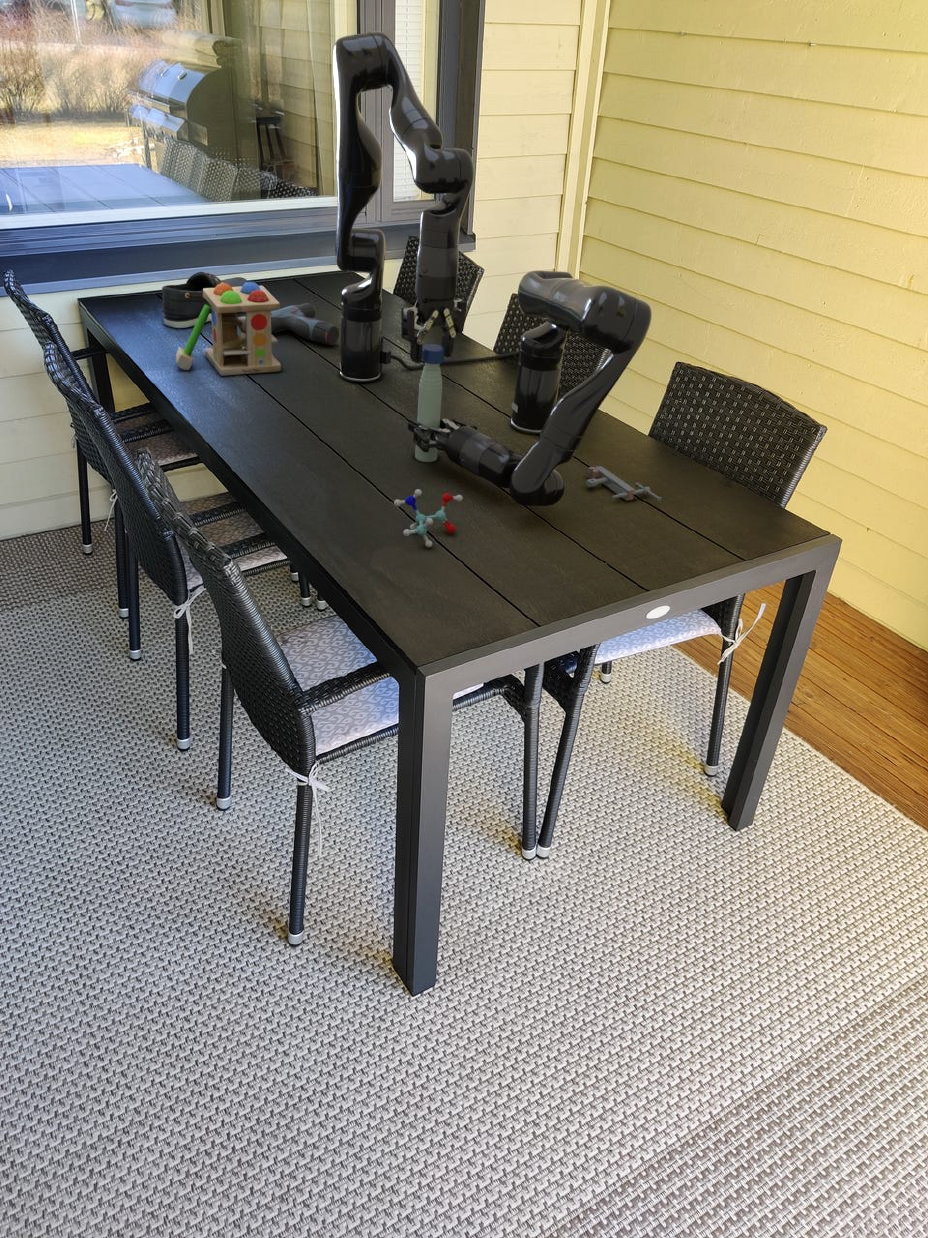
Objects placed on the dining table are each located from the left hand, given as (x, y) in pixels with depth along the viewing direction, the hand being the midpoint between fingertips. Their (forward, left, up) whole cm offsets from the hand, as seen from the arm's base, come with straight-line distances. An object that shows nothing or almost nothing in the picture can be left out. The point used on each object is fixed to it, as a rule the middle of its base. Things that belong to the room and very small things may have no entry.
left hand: (431, 358), depth 186 cm
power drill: (-41, -64, -21) cm, 79 cm away
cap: (0, 0, +2) cm, 2 cm away
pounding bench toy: (-9, -63, -21) cm, 67 cm away
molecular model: (+26, +18, -21) cm, 38 cm away
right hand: (-1, -2, -14) cm, 14 cm away
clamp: (-13, +37, -21) cm, 44 cm away
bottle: (0, 0, -21) cm, 21 cm away
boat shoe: (-34, -94, -21) cm, 102 cm away
